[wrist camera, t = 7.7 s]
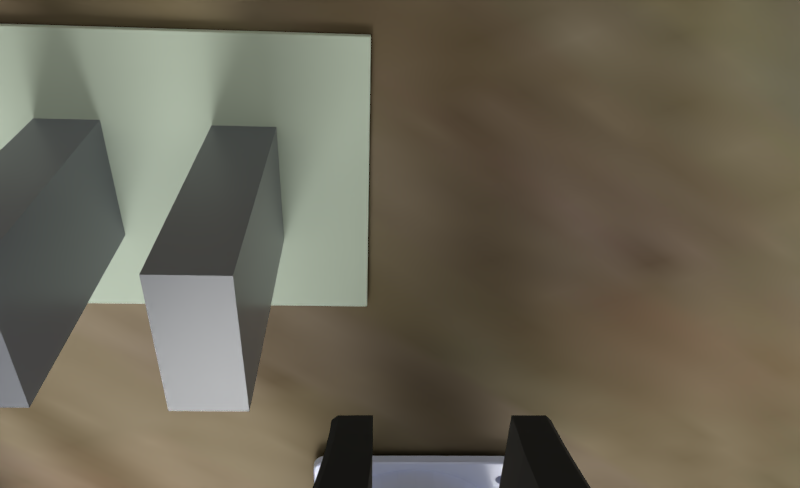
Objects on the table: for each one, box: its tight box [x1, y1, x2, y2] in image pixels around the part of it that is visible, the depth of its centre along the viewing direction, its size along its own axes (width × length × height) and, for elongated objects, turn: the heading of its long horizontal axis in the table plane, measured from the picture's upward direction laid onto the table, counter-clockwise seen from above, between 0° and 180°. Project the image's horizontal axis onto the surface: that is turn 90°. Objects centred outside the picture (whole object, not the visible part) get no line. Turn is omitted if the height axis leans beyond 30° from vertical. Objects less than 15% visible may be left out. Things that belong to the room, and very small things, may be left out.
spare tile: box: [0, 118, 125, 408], centre depth 17 cm, size 2×4×7 cm, turn 178°
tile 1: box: [139, 125, 284, 411], centre depth 17 cm, size 2×4×7 cm, turn 178°
